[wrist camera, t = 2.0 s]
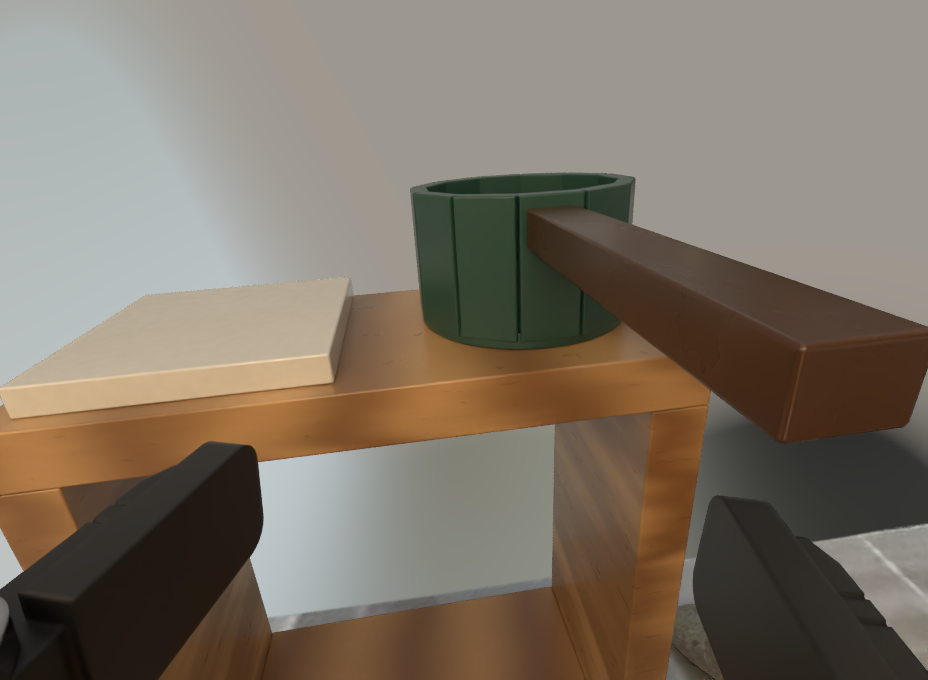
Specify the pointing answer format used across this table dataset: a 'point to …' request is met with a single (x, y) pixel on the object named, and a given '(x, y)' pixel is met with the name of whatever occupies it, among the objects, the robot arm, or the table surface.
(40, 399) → the beige trivet
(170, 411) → the oak stand
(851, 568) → the table surface
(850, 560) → the table surface
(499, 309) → the saucepan
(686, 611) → the soupspoon
